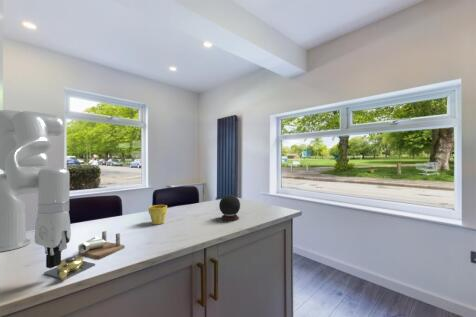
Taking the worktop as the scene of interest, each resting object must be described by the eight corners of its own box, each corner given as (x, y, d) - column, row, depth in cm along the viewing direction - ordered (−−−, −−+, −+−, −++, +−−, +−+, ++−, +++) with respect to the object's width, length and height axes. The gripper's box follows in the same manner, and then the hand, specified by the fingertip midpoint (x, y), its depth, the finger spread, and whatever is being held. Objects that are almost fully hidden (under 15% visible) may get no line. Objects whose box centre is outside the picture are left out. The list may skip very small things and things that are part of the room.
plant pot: (145, 222, 129) (145, 206, 129) (162, 219, 136) (162, 203, 136) (152, 226, 121) (152, 209, 121) (170, 223, 128) (170, 206, 128)
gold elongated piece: (47, 282, 65) (47, 272, 65) (61, 264, 76) (61, 256, 76) (76, 277, 68) (76, 267, 68) (85, 260, 79) (85, 252, 79)
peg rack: (78, 254, 86) (78, 238, 86) (104, 244, 97) (104, 230, 97) (99, 259, 82) (99, 242, 82) (124, 248, 92) (124, 233, 92)
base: (44, 274, 71) (44, 272, 71) (76, 260, 81) (76, 259, 81) (63, 280, 68) (63, 278, 68) (95, 265, 77) (95, 263, 77)
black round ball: (239, 215, 144) (239, 193, 144) (241, 221, 131) (241, 196, 131) (219, 216, 143) (219, 193, 143) (219, 222, 130) (218, 196, 130)
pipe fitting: (107, 246, 92) (92, 244, 93) (108, 237, 92) (93, 235, 93) (94, 254, 84) (77, 252, 85) (95, 244, 84) (78, 242, 85)
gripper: (24, 207, 67) (24, 266, 67) (55, 213, 62) (55, 277, 62) (52, 202, 74) (52, 256, 74) (82, 207, 69) (82, 265, 69)
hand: (53, 265), depth 68 cm, fingers closed
